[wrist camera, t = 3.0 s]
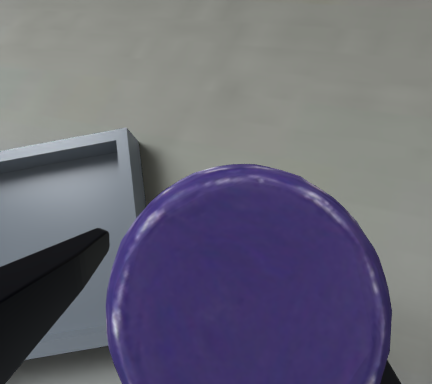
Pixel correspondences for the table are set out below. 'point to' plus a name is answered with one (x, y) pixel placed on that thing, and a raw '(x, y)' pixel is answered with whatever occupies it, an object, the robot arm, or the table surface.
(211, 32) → the table surface
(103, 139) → the desk tray
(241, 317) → the toy lamp
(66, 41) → the table surface
